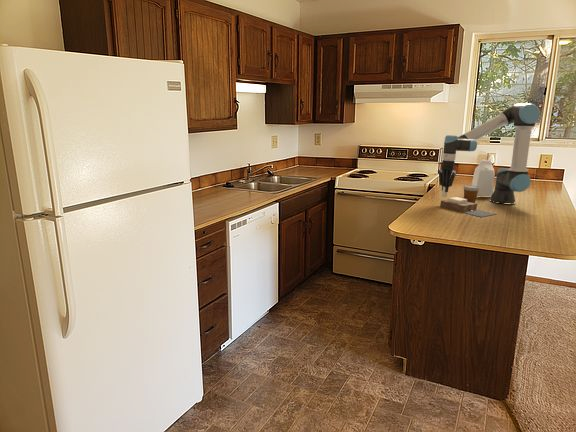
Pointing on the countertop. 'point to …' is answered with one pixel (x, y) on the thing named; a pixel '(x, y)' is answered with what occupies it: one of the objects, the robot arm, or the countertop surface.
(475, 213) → the rubber mat
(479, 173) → the milk
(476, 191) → the disposable coffee cup
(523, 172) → the robot arm
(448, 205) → the walnut board
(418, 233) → the countertop surface
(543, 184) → the countertop surface
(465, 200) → the coaster
